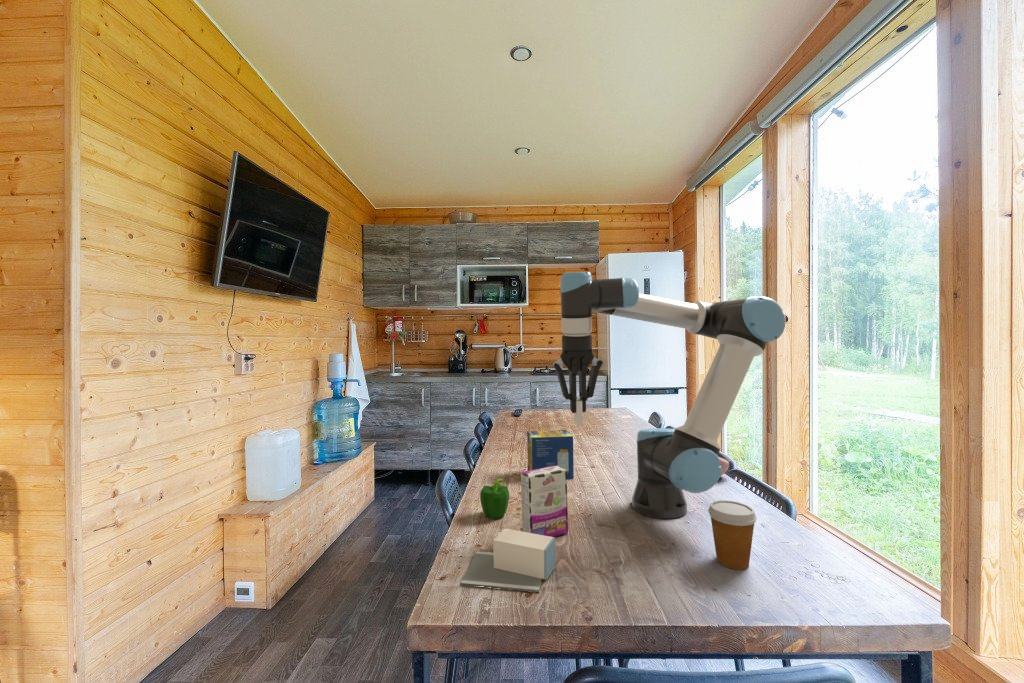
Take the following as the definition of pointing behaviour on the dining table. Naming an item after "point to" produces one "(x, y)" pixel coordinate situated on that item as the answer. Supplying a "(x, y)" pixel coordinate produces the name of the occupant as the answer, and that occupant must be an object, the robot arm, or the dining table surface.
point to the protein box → (550, 450)
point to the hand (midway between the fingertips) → (578, 424)
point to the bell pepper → (494, 500)
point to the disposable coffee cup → (732, 532)
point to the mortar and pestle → (723, 465)
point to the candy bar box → (544, 501)
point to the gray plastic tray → (497, 576)
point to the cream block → (525, 553)
